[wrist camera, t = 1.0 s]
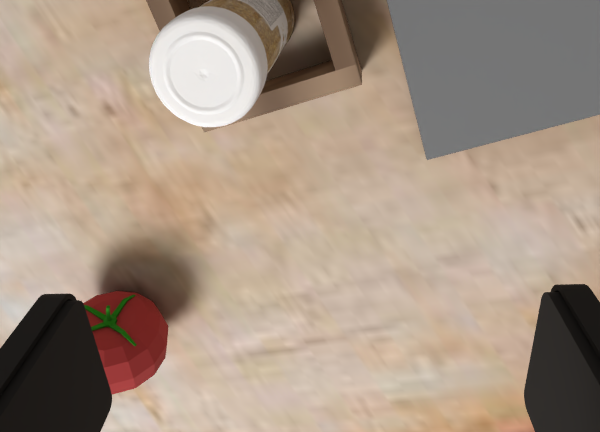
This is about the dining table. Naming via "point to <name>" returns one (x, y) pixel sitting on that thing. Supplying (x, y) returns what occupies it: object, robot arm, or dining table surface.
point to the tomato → (127, 337)
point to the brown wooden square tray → (304, 83)
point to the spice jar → (218, 58)
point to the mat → (497, 67)
